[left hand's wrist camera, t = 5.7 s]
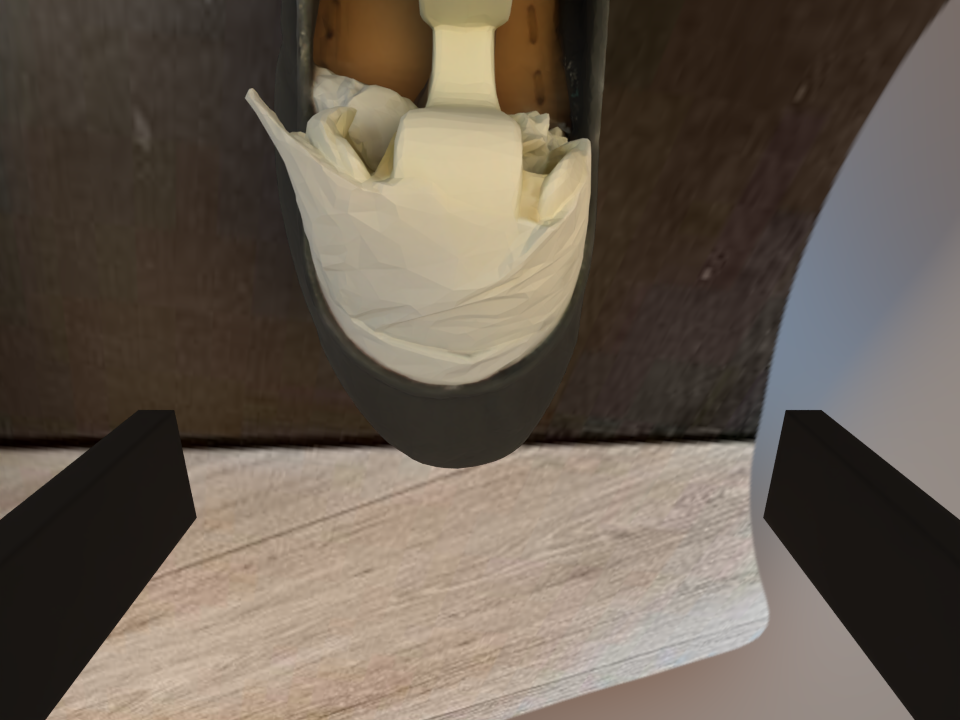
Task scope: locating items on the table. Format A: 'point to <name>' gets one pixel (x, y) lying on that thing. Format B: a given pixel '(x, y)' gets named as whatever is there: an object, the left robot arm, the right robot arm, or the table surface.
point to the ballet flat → (442, 205)
